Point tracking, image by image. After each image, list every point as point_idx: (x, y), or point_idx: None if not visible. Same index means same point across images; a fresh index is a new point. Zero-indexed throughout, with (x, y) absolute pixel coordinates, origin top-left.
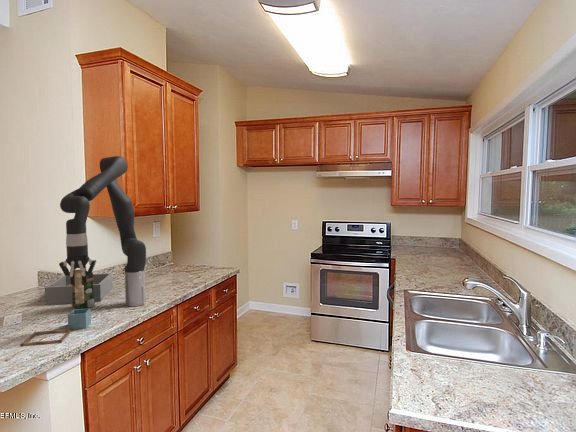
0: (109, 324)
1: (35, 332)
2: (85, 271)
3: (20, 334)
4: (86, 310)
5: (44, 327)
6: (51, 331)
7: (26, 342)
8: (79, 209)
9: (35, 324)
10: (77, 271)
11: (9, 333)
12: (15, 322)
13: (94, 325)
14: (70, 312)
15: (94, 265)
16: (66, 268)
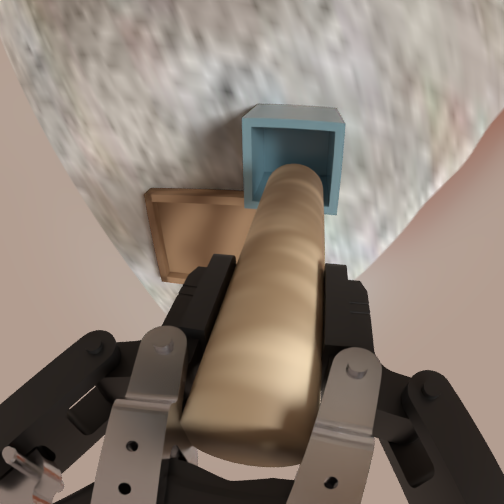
0: (419, 142)
1: (148, 198)
2: (356, 412)
3: (97, 162)
4: (322, 129)
5: (138, 103)
6: (202, 203)
7: (166, 263)
8: None
9: (91, 67)
10: (252, 461)
11: (63, 147)
12: (29, 51)
13: (356, 130)
14: (243, 167)
15: (498, 486)
16: (68, 430)
